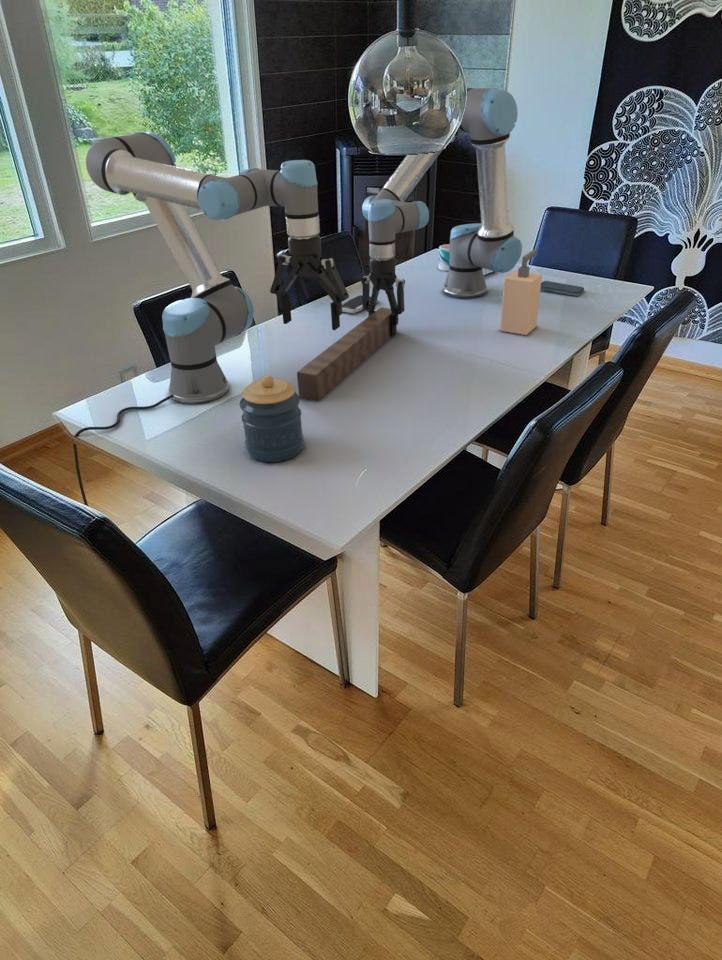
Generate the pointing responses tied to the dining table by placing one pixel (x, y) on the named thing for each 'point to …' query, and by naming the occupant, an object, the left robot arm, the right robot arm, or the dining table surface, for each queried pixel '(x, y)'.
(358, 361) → the post
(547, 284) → the smartphone
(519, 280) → the soap dispenser
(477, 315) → the dining table surface
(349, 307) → the smartphone
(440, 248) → the mug
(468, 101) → the right robot arm
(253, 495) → the dining table surface
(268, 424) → the canister
